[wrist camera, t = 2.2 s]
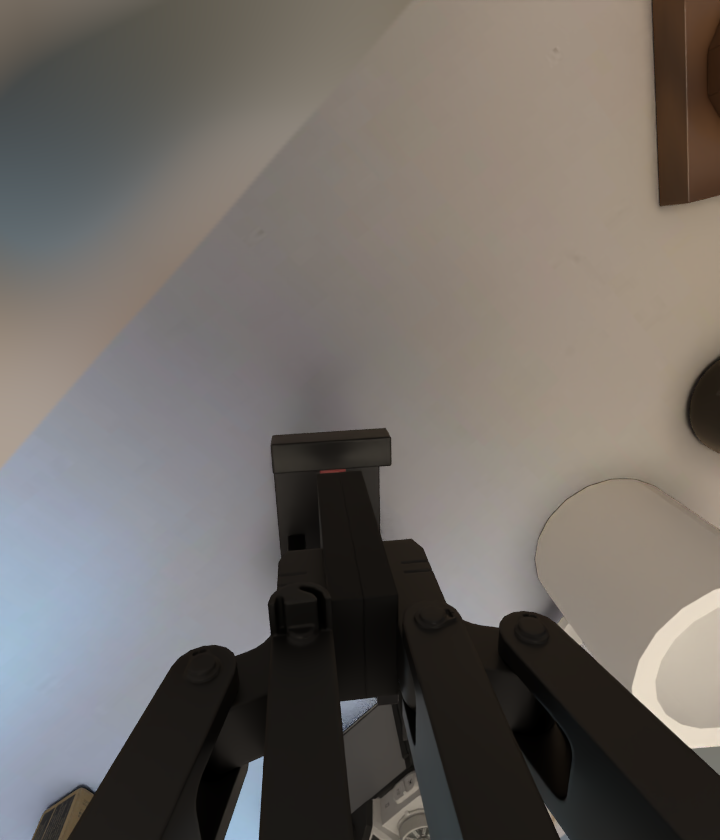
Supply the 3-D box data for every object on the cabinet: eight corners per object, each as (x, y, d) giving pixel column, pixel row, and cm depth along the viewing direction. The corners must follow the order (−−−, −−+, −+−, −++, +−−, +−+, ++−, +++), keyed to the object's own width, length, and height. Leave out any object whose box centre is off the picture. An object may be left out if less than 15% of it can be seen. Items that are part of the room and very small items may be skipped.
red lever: (272, 430, 23) (269, 449, 21) (384, 423, 23) (393, 441, 21) (291, 655, 26) (290, 692, 24) (388, 645, 27) (396, 680, 25)
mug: (590, 663, 38) (694, 812, 28) (478, 615, 36) (549, 761, 26) (708, 516, 35) (872, 624, 25) (596, 452, 33) (729, 544, 23)
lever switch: (273, 452, 30) (263, 543, 21) (375, 445, 31) (409, 531, 22) (290, 647, 35) (288, 793, 25) (379, 637, 35) (408, 776, 26)
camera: (336, 844, 41) (348, 1021, 32) (249, 795, 38) (233, 974, 29) (480, 724, 39) (538, 877, 29) (398, 664, 36) (433, 812, 27)
